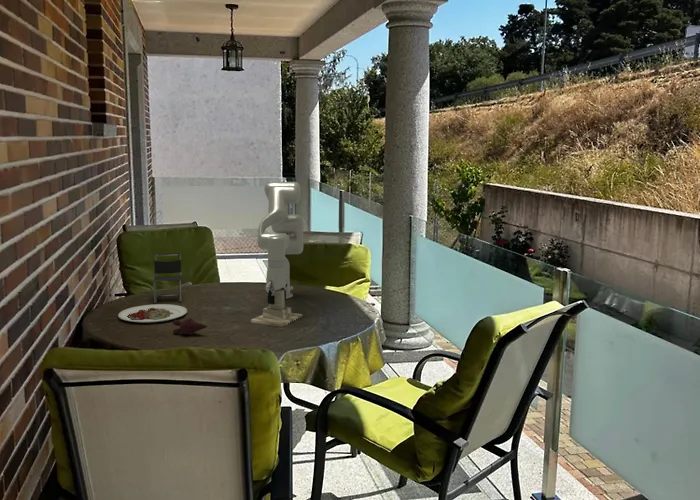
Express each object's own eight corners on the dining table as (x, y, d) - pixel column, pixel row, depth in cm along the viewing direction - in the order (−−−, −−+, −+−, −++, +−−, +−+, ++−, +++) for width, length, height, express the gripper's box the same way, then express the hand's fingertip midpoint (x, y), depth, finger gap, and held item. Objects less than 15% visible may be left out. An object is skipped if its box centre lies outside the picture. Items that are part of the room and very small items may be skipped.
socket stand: (272, 312, 304) (272, 301, 304) (302, 316, 298) (302, 305, 297) (250, 322, 288) (250, 310, 287) (282, 326, 282) (282, 315, 281)
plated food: (200, 312, 306) (200, 305, 305) (156, 328, 279) (156, 321, 278) (150, 305, 318) (150, 298, 318) (103, 320, 291) (103, 313, 291)
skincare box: (285, 316, 295) (285, 289, 293) (282, 318, 290) (281, 291, 288) (272, 315, 296) (271, 288, 294) (268, 317, 292) (268, 291, 290)
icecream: (210, 317, 272) (177, 318, 275) (203, 317, 265) (168, 318, 268) (210, 334, 271) (177, 335, 274) (203, 335, 264) (168, 336, 267)
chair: (182, 295, 338) (180, 253, 335) (181, 303, 322) (179, 259, 318) (156, 296, 336) (154, 253, 332) (153, 304, 319) (151, 259, 315)
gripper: (279, 259, 298) (279, 296, 301) (258, 266, 283) (259, 304, 286) (293, 261, 295) (294, 298, 298) (273, 267, 280) (274, 306, 282)
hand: (277, 301), depth 292 cm, fingers open, 9 cm apart
